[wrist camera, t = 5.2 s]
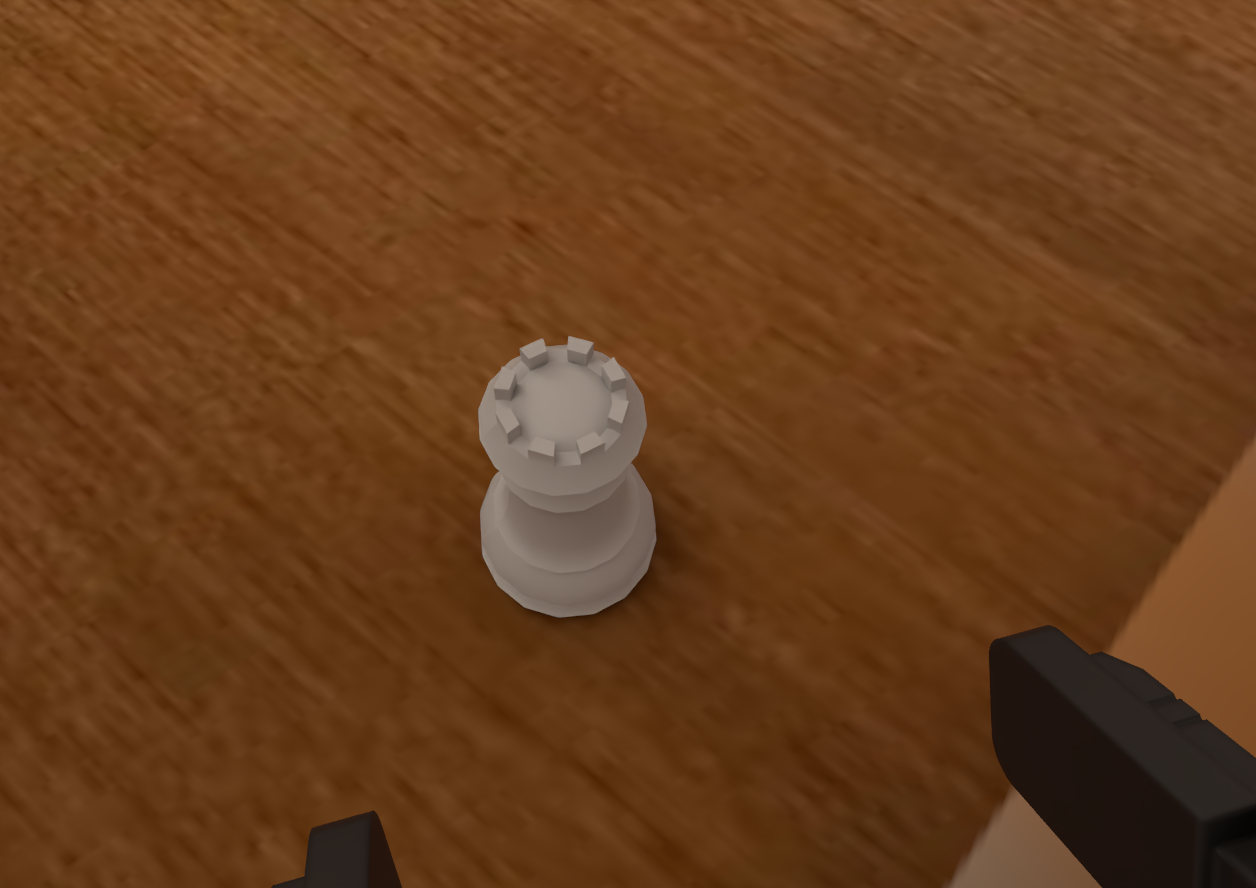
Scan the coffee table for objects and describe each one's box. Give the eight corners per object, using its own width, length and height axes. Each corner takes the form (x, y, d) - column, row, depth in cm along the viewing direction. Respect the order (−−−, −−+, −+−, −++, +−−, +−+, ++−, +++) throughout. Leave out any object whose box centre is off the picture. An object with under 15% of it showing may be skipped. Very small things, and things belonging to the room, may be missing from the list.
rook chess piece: (506, 645, 25) (473, 536, 17) (462, 484, 26) (415, 324, 19) (678, 593, 25) (715, 468, 18) (625, 439, 27) (638, 269, 20)
